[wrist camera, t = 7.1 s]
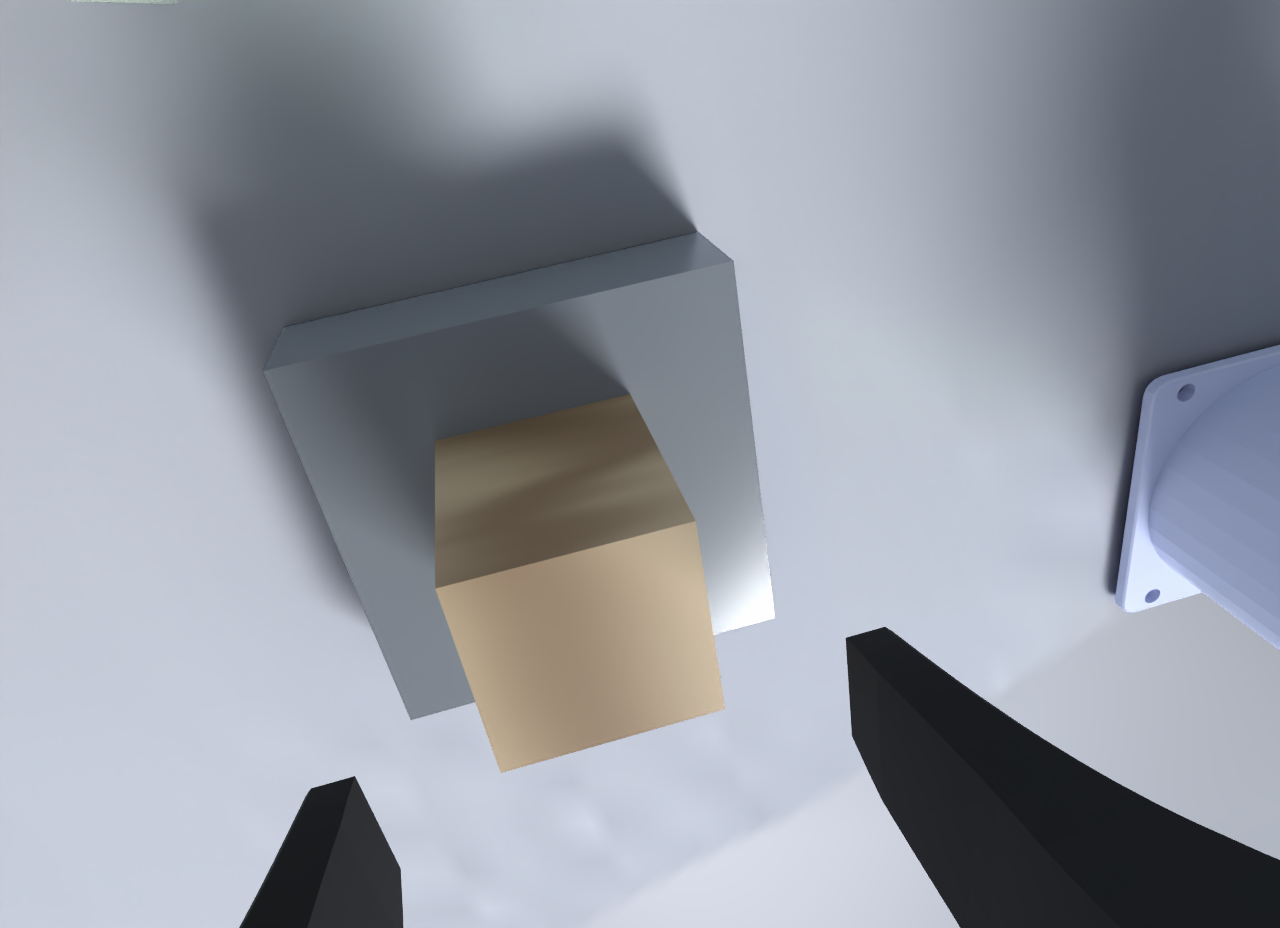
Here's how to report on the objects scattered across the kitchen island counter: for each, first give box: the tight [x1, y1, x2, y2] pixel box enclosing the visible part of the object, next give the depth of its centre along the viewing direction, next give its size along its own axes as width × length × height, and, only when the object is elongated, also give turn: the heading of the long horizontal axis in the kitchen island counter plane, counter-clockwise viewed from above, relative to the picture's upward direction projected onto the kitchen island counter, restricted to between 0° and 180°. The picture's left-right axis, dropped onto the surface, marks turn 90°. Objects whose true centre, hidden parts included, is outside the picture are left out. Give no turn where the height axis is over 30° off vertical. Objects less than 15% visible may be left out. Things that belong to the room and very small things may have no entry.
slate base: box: [263, 232, 775, 720], centre depth 19 cm, size 9×9×2 cm
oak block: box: [435, 394, 725, 773], centre depth 16 cm, size 4×4×5 cm
